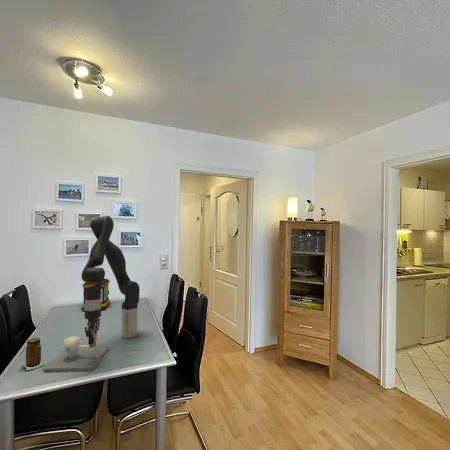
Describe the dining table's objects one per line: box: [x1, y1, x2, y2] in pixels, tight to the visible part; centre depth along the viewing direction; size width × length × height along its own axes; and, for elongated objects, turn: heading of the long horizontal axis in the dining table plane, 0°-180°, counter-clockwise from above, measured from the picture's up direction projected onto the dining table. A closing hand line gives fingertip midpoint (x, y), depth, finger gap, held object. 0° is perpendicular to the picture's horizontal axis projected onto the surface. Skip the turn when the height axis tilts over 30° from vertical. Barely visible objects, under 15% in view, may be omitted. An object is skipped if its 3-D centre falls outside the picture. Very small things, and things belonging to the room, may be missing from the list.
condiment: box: [25, 337, 42, 367], centre depth 133 cm, size 7×8×12 cm
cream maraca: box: [63, 333, 97, 352], centre depth 139 cm, size 15×9×8 cm, turn 92°
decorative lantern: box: [81, 277, 111, 312], centre depth 227 cm, size 20×20×30 cm
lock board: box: [42, 346, 109, 372], centre depth 139 cm, size 22×22×5 cm
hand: (92, 342), depth 139 cm, fingers closed on cream maraca, 3 cm apart
